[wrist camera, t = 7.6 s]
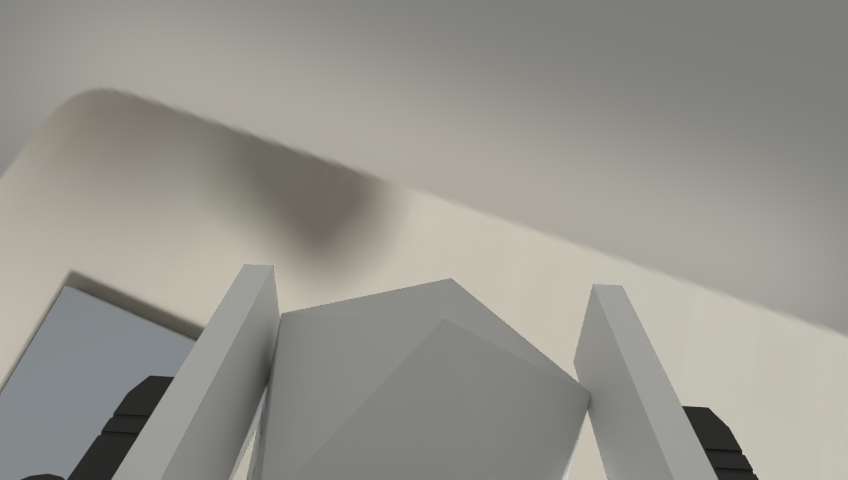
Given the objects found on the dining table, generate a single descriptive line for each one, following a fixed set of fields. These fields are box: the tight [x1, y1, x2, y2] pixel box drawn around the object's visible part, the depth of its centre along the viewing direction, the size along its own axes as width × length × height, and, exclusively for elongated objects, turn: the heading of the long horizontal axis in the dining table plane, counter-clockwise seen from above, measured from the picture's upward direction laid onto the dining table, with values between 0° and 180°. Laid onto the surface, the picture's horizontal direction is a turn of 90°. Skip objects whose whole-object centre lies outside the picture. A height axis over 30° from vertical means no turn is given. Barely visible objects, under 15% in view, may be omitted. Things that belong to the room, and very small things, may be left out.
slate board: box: [0, 286, 266, 480], centre depth 26 cm, size 12×12×1 cm
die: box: [246, 278, 591, 480], centre depth 14 cm, size 8×9×10 cm
